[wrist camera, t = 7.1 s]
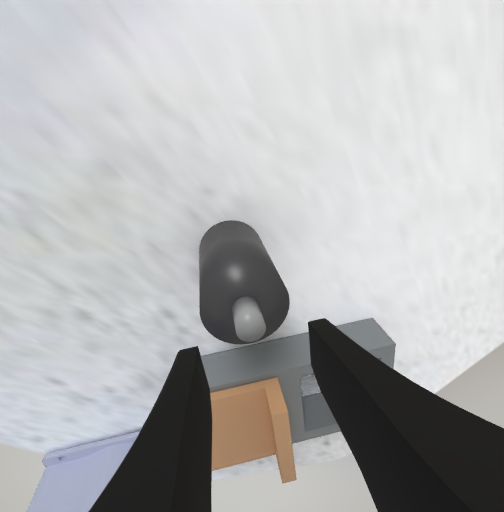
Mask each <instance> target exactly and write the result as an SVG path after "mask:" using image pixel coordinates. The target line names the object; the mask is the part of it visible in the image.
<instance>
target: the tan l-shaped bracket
mask: <svg viewBox="0 0 504 512" xmlns="http://www.w3.org/2000/svg"><path fill="white" fill-rule="evenodd" d="M210 397H211V408H212V471H214V470H217V469H221V468H225V467H229V466H233V465H237V464H240V463H244V462H248V461H252V460H256V459H260V458H263V457H267V456H271V455H275V454H276V457H277V462H278V466H279V470H280V475H281V479H282V483H286V482H290V481H294V480H296V473H295V464H294V456H293V448H292V440H291V432H290V424H289V416H288V410H287V407H286V403H285V400H284V397H283V394H282V391H281V387H280V384H279V381H278V378H277V377H276V378H272V379H267V380H263V381H259V382H255V383H251V384H246V385H242V386H238V387H234V388H229V389H225V390H221V391H217V392H212V393H210Z"/></svg>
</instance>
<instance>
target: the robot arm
mask: <svg viewBox="0 0 504 512" xmlns="http://www.w3.org/2000/svg"><path fill="white" fill-rule="evenodd" d="M308 328H309V343H310V358H311V366H312V369H313V372H314V374H315V377H316V380H317V382H318V385H319V387H320V390H321V392H322V394H323V396H324V398H325V400H326V402H327V404H328V406H329V408H330V410H331V412H332V414H333V416H334V418H335V420H336V422H337V424H338V426H339V428H340V430H341V432H342V434H343V436H344V438H345V439H346V441H347V443H348V445H349V447H350V449H351V451H352V453H353V455H354V457H355V459H356V461H357V463H358V466H359V468H360V470H361V472H362V474H363V476H364V479H365V481H366V484H367V486H368V489H369V491H370V493H371V496H372V498H373V501H374V503H375V505H376V508H377V510H378V512H504V428H501V427H499V426H497V425H495V424H493V423H491V422H488V421H486V420H484V419H482V418H480V417H478V416H476V415H474V414H472V413H470V412H468V411H466V410H464V409H462V408H459V407H458V406H456V405H454V404H452V403H450V402H448V401H446V400H444V399H442V398H440V397H439V396H437V395H435V394H433V393H432V392H430V391H428V390H426V389H425V388H423V387H421V386H419V385H418V384H416V383H414V382H413V381H411V380H409V379H408V378H406V377H405V376H403V375H401V374H400V373H398V372H397V371H395V370H394V369H392V368H391V367H389V366H388V365H386V364H385V363H383V362H382V361H380V360H379V359H378V358H376V357H375V356H373V355H372V354H371V353H369V352H368V351H367V350H365V349H364V348H362V347H361V346H360V345H358V344H357V343H356V342H354V341H353V340H352V339H351V338H349V337H348V336H347V335H345V334H344V333H343V332H342V331H340V330H339V329H338V328H337V327H335V326H334V325H333V324H332V323H330V322H329V321H328V320H327V319H325V318H323V319H319V320H314V321H310V322H308ZM42 462H43V464H44V465H45V467H46V469H45V471H44V473H43V476H42V478H41V480H40V482H39V484H38V487H37V489H36V491H35V493H34V496H33V498H32V500H31V502H30V505H29V507H28V510H27V512H211V474H212V408H211V397H210V388H209V384H208V380H207V377H206V373H205V370H204V366H203V363H202V359H201V356H200V352H199V349H198V346H196V347H192V348H187V349H183V350H180V351H179V352H178V353H177V356H176V358H175V361H174V363H173V366H172V368H171V371H170V373H169V375H168V377H167V380H166V382H165V384H164V386H163V388H162V390H161V392H160V394H159V397H158V399H157V401H156V403H155V405H154V407H153V409H152V411H151V413H150V414H149V416H148V418H147V420H146V422H145V423H144V425H143V427H142V429H141V431H138V432H134V433H130V434H126V435H122V436H118V437H114V438H109V439H105V440H101V441H97V442H93V443H89V444H85V445H81V446H76V447H72V448H68V449H64V450H60V451H56V452H52V453H48V454H46V455H45V456H44V457H43V460H42Z"/></svg>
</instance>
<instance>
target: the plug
mask: <svg viewBox="0 0 504 512" xmlns="http://www.w3.org/2000/svg"><path fill="white" fill-rule="evenodd" d="M199 268H200V317H201V320H202V323H203V325H204V327H205V328H206V329H207V331H208V332H209V333H210V334H212V335H213V336H214V337H216V338H217V339H219V340H222V341H224V342H228V343H232V344H248V343H253V342H257V341H259V340H262V339H264V338H266V337H268V336H269V335H271V334H272V333H273V332H275V331H276V330H277V329H278V328H279V327H280V326H281V324H282V323H283V321H284V320H285V318H286V316H287V313H288V310H289V294H288V291H287V289H286V287H285V285H284V283H283V281H282V279H281V277H280V275H279V274H278V272H277V270H276V268H275V266H274V264H273V262H272V260H271V258H270V257H269V255H268V253H267V251H266V249H265V247H264V245H263V243H262V241H261V239H260V238H259V236H258V234H257V233H256V231H255V230H254V229H253V228H252V227H250V226H249V225H247V224H245V223H243V222H239V221H224V222H221V223H218V224H216V225H214V226H213V227H211V228H210V229H209V230H208V231H207V232H206V233H205V235H204V236H203V238H202V240H201V243H200V248H199Z"/></svg>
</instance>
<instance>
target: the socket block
mask: <svg viewBox="0 0 504 512" xmlns="http://www.w3.org/2000/svg"><path fill="white" fill-rule="evenodd" d="M335 327H337V328H338V329H339V330H340V331H342V332H343V333H344V334H345V335H347V336H348V337H349V338H351V339H352V340H353V341H354V342H356V343H357V344H358V345H360V346H361V347H362V348H364V349H365V350H367V351H368V352H369V353H371V354H372V355H373V356H375V357H376V358H378V359H379V360H380V361H382V362H383V363H385V364H386V365H388V366H389V367H391V368H392V369H393V366H394V356H395V345H396V344H395V342H394V341H393V340H392V339H391V338H390V337H389V336H388V335H387V333H386V332H385V331H384V330H383V329H382V328H381V327H380V326H379V325H378V323H377V322H376V321H375V320H374V319H373V318H370V319H366V320H362V321H357V322H353V323H348V324H344V325H339V326H335ZM201 359H202V363H203V366H204V370H205V373H206V377H207V380H208V384H209V388H210V393H212V392H217V391H221V390H225V389H229V388H234V387H238V386H242V385H246V384H251V383H255V382H259V381H263V380H267V379H272V378H276V377H277V378H278V381H279V384H280V387H281V391H282V394H283V397H284V400H285V403H286V407H287V410H288V416H289V424H290V432H291V440H292V444H293V443H297V442H300V441H304V440H308V439H312V438H316V437H320V436H324V435H327V434H331V433H335V432H339V431H341V430H340V428H339V426H338V424H337V422H336V420H335V418H334V416H333V414H332V412H331V410H330V408H329V406H328V404H327V402H326V400H325V398H324V396H323V394H322V393H318V394H314V395H310V396H306V397H302V395H301V384H300V377H302V376H306V375H311V374H314V372H313V369H312V366H311V358H310V343H309V332H308V333H304V334H299V335H295V336H290V337H286V338H281V339H277V340H272V341H268V342H263V343H259V344H254V345H250V346H246V347H241V348H237V349H232V350H228V351H223V352H219V353H214V354H210V355H205V356H201Z"/></svg>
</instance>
